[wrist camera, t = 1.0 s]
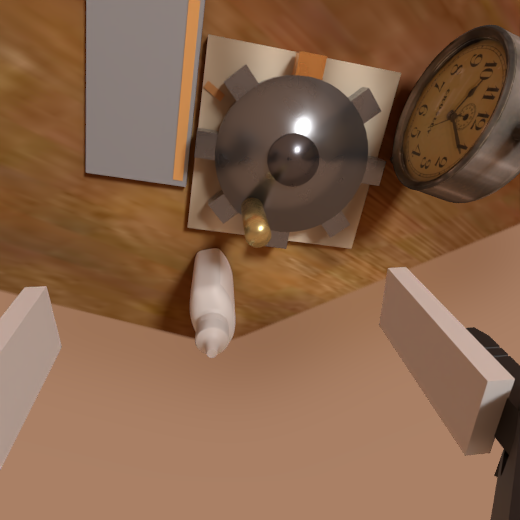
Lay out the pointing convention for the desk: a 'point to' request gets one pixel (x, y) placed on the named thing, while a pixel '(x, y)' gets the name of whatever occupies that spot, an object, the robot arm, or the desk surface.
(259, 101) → the sprocket
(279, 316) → the desk surface
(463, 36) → the alarm clock
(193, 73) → the pad
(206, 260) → the eye dropper bottle
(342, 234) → the plate
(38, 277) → the desk surface
